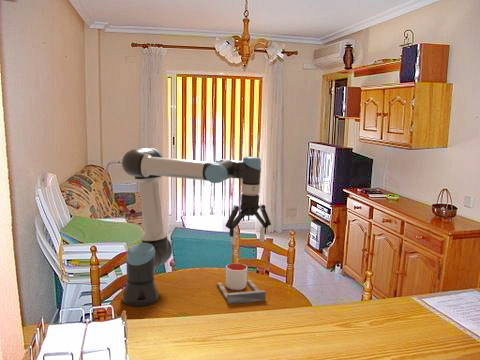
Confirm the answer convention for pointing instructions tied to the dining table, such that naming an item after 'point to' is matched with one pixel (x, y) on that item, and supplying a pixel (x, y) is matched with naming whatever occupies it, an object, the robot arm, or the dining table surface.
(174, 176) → the robot arm
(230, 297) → the grey tray
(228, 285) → the cup
